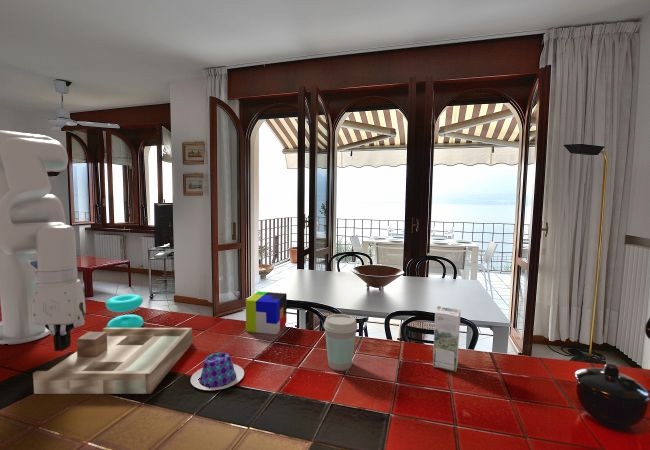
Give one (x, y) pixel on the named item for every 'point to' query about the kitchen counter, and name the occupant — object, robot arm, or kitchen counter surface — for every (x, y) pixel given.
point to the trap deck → (118, 363)
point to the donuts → (122, 305)
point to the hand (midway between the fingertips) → (62, 348)
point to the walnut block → (91, 344)
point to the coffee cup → (340, 340)
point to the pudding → (217, 372)
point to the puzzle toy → (266, 312)
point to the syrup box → (446, 338)
